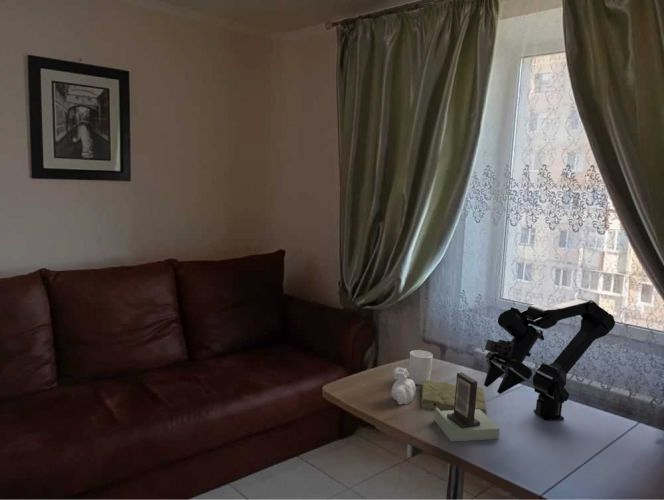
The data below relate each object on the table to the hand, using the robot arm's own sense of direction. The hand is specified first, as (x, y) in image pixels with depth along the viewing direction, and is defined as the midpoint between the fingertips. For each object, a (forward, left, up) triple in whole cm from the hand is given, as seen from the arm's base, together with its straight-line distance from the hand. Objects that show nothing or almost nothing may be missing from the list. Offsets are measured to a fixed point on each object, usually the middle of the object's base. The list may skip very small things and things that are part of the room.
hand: (491, 389), depth 150 cm
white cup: (+9, -34, -11) cm, 37 cm away
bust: (+20, -20, -11) cm, 30 cm away
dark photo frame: (+9, +2, -8) cm, 12 cm away
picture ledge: (+8, +1, -11) cm, 14 cm away
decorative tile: (+4, -17, -12) cm, 21 cm away
